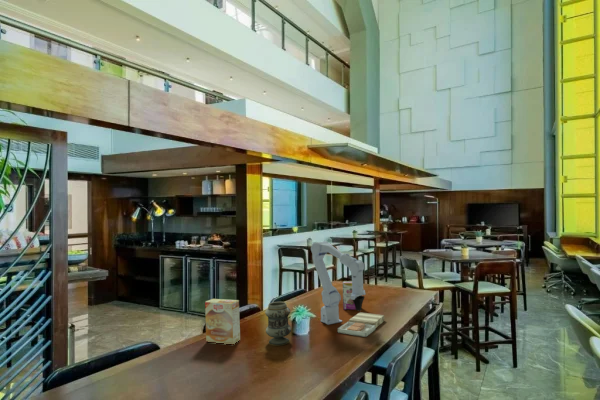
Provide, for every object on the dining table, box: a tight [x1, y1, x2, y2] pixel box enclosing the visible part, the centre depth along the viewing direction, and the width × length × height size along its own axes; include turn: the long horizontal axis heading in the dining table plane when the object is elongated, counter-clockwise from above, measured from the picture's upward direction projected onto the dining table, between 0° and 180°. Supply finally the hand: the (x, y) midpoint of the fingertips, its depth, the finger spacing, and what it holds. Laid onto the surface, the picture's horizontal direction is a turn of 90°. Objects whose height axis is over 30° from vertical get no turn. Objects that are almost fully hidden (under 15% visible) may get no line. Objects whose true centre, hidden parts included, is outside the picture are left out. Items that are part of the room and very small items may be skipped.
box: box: [337, 321, 376, 338], centre depth 184 cm, size 13×15×2 cm
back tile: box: [352, 323, 365, 330], centre depth 186 cm, size 5×5×2 cm
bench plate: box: [348, 311, 385, 329], centre depth 196 cm, size 15×14×3 cm
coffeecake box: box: [204, 298, 241, 345], centre depth 177 cm, size 15×7×20 cm, turn 70°
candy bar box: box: [342, 280, 362, 311], centre depth 226 cm, size 11×5×16 cm, turn 84°
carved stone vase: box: [264, 301, 292, 347], centre depth 173 cm, size 12×12×18 cm
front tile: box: [347, 326, 361, 331], centre depth 181 cm, size 5×5×2 cm
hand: (358, 310), depth 190 cm, fingers closed
